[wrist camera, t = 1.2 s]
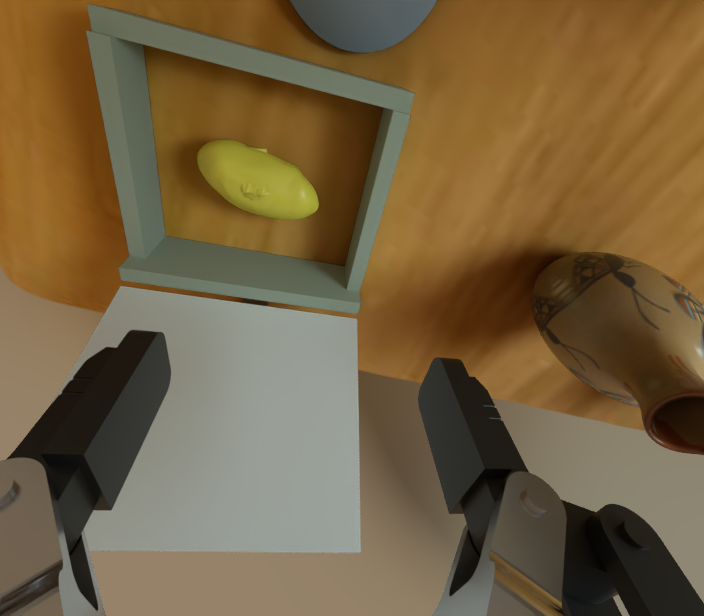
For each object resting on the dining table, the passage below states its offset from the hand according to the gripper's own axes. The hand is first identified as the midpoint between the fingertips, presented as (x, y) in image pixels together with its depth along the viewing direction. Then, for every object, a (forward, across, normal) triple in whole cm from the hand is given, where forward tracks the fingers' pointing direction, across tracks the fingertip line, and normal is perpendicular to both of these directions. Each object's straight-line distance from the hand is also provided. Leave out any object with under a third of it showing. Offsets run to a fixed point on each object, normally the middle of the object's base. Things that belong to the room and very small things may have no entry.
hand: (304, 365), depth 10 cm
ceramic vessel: (+17, -23, +4) cm, 29 cm away
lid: (+5, +4, +9) cm, 11 cm away
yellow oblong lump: (+18, +4, 0) cm, 18 cm away
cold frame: (+17, +4, 0) cm, 18 cm away
